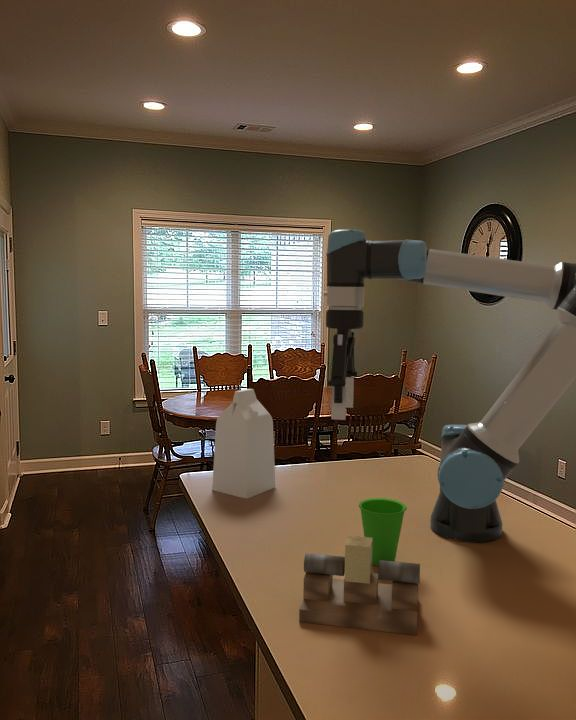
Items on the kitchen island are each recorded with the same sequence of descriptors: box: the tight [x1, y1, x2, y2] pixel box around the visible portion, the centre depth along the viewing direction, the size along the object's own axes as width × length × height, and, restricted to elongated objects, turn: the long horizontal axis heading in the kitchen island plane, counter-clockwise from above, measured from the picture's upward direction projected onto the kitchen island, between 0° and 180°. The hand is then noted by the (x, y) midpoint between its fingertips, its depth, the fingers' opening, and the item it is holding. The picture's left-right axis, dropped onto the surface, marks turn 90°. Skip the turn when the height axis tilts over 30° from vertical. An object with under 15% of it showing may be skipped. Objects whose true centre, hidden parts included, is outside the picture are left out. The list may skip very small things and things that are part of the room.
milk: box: [211, 388, 276, 499], centre depth 167 cm, size 12×12×26 cm
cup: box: [358, 497, 407, 567], centre depth 123 cm, size 9×9×11 cm
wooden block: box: [344, 535, 373, 584], centre depth 104 cm, size 4×4×6 cm
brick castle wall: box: [298, 552, 421, 636], centre depth 104 cm, size 18×12×8 cm, turn 78°
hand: (342, 413), depth 131 cm, fingers open, 13 cm apart
